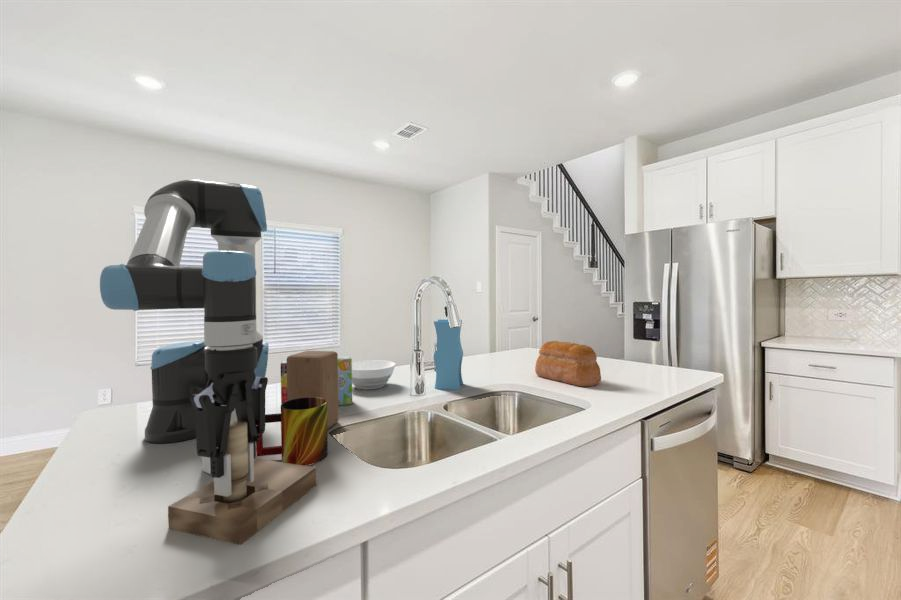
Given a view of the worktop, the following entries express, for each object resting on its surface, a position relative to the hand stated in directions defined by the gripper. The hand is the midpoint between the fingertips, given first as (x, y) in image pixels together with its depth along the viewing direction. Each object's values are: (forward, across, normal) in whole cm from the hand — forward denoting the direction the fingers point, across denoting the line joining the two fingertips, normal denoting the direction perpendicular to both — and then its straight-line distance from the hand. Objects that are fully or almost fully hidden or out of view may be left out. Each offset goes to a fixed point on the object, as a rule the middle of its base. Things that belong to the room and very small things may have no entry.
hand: (234, 486), depth 65 cm
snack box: (+5, +56, +24) cm, 61 cm away
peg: (+2, 0, 0) cm, 2 cm away
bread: (+5, +114, -52) cm, 125 cm away
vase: (+5, +91, -9) cm, 92 cm away
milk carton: (+5, +13, +15) cm, 20 cm away
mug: (+5, +21, +5) cm, 22 cm away
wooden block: (+5, +39, +13) cm, 41 cm away
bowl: (+5, +83, +20) cm, 86 cm away
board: (+5, +3, 0) cm, 6 cm away
